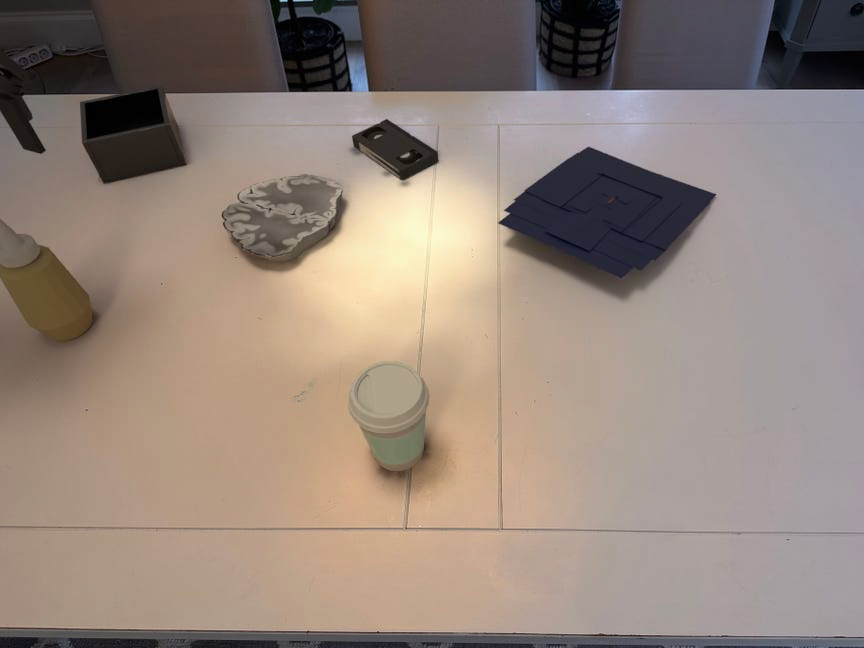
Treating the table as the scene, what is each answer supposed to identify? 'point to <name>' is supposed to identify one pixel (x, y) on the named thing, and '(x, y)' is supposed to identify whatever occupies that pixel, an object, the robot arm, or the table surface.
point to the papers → (606, 211)
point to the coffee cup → (391, 412)
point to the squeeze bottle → (42, 287)
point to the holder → (131, 134)
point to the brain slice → (283, 215)
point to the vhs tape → (395, 149)
